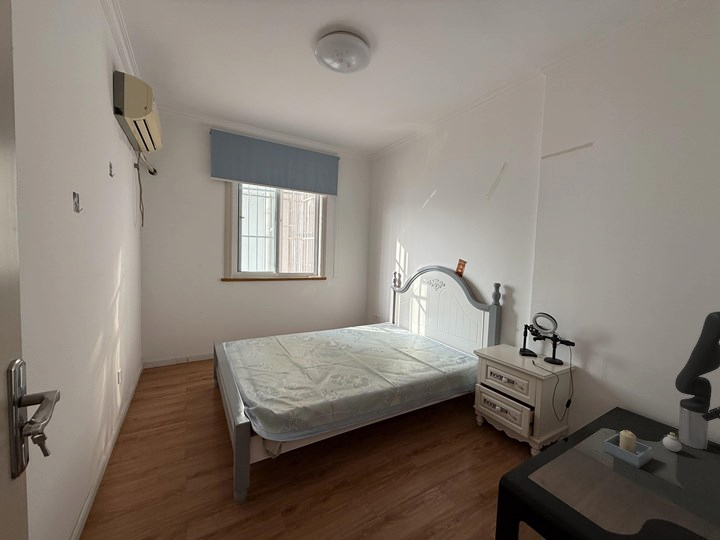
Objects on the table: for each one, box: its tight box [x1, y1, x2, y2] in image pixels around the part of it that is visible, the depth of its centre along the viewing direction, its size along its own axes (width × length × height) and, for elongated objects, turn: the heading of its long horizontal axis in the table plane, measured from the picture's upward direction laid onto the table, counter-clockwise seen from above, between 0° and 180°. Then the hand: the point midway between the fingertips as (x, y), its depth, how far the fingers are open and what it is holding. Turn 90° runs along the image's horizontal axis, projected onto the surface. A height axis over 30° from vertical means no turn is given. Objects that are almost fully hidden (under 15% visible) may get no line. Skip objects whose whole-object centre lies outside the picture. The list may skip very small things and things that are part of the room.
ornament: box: [662, 431, 685, 452], centre depth 136 cm, size 6×7×10 cm
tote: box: [602, 433, 653, 469], centre depth 133 cm, size 14×13×5 cm
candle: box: [619, 429, 638, 455], centre depth 133 cm, size 6×6×10 cm
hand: (707, 415), depth 113 cm, fingers open, 8 cm apart
